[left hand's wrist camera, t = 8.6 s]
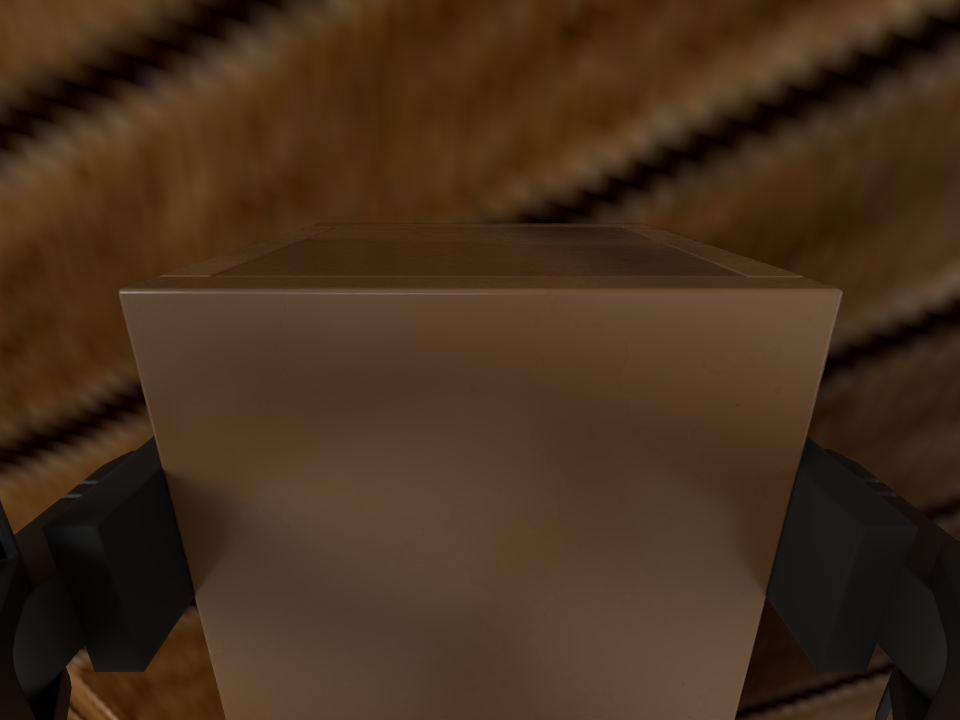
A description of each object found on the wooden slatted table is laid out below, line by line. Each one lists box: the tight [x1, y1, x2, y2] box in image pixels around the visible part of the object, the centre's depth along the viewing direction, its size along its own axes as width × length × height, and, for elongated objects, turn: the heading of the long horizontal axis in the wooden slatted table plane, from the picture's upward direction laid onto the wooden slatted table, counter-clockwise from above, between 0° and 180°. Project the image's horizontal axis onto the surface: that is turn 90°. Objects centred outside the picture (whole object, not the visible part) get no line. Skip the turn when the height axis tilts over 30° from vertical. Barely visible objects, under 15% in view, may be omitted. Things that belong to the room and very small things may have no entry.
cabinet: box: [119, 223, 843, 720], centre depth 15 cm, size 22×10×10 cm, turn 0°
